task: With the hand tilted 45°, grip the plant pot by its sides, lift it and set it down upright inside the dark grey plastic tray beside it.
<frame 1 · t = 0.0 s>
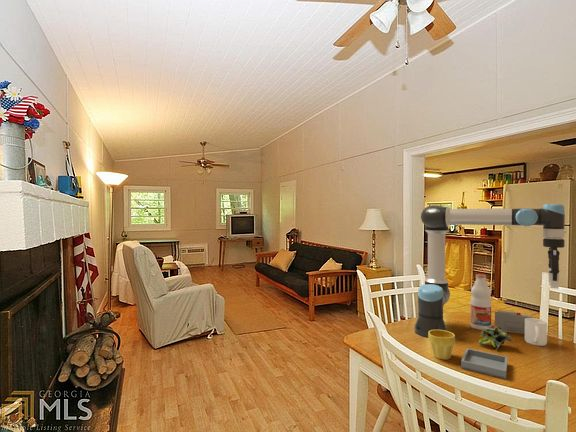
hand: (553, 285, 148), 28 cm above the table, tool pointing down, fingers open, 13 cm apart
fruit juice: (480, 328, 173), on the table
plant pot: (441, 356, 139), on the table
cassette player: (513, 332, 167), on the table
green leafy plant: (495, 347, 148), on the table
tray: (484, 366, 130), on the table
mug: (535, 344, 151), on the table
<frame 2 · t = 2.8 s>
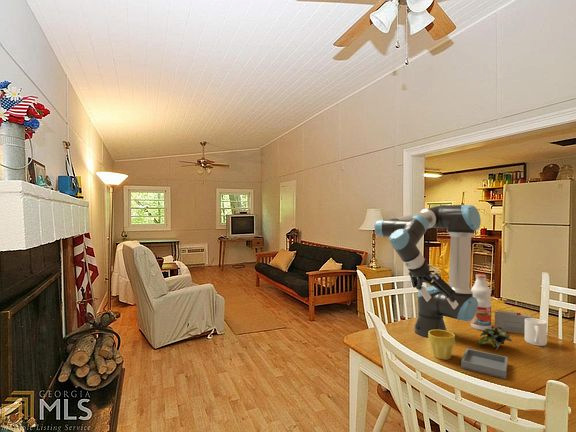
hand: (441, 302, 135), 24 cm above the table, tool tilted 40°, fingers open, 13 cm apart
nothing on the table moved.
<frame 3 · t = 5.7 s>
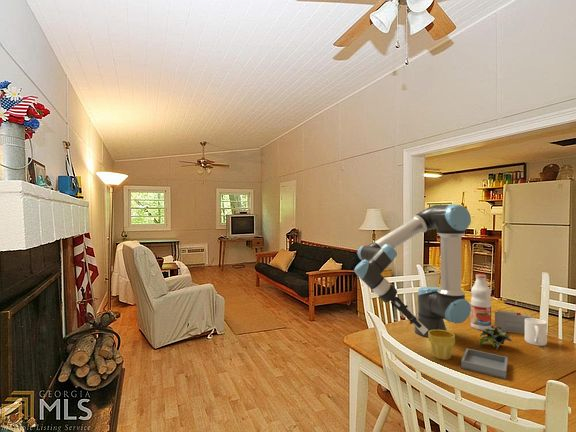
hand: (420, 326, 139), 13 cm above the table, tool tilted 45°, fingers open, 13 cm apart
nothing on the table moved.
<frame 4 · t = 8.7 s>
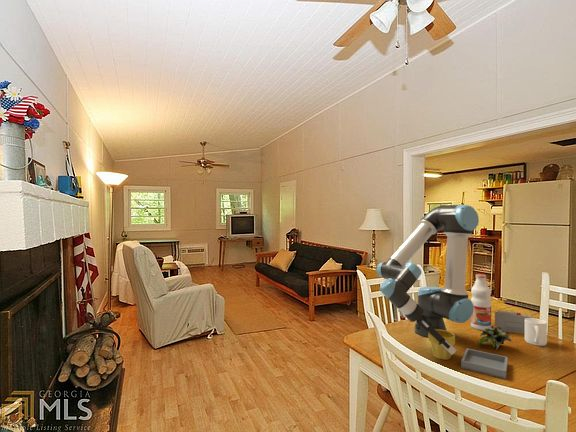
hand: (448, 347, 139), 4 cm above the table, tool tilted 45°, fingers closed on plant pot, 10 cm apart
plant pot: (441, 356, 139), on the table, touching gripper
everything else where it was.
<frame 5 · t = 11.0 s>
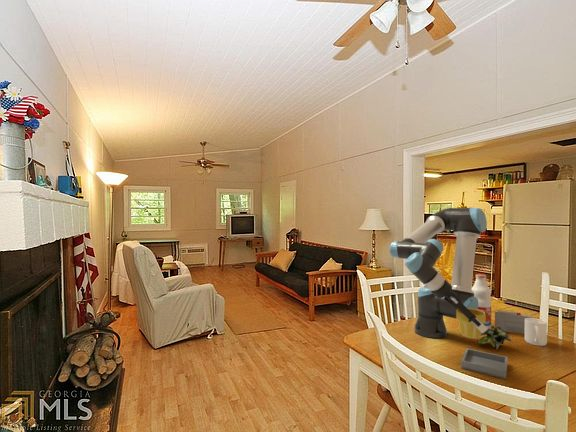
hand: (478, 326, 131), 16 cm above the table, tool tilted 45°, fingers closed on plant pot, 10 cm apart
plant pot: (470, 336, 131), point 11 cm above the table, touching gripper
everything else where it was.
when the fingers open (6 cm above the table, at t = 13.7 s): plant pot drops 1 cm, resting on tray.
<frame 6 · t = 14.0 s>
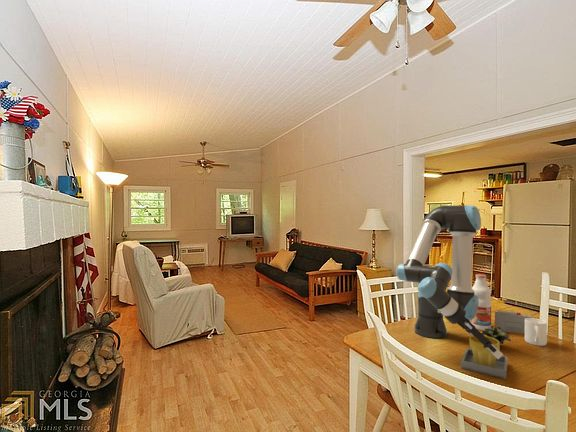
hand: (491, 349, 130), 7 cm above the table, tool tilted 45°, fingers open, 13 cm apart
plant pot: (484, 364, 130), point 1 cm above the table, touching tray
everything else where it was.
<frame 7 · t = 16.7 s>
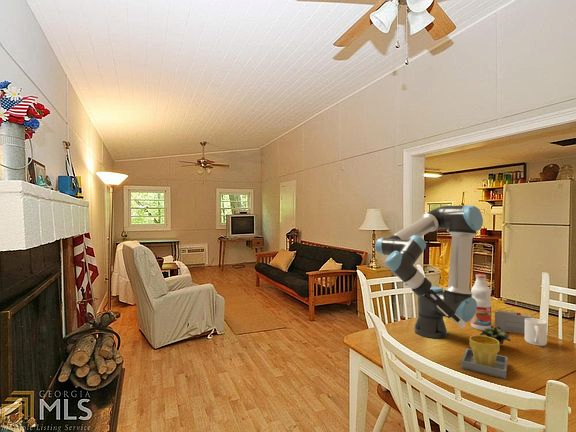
hand: (456, 320, 132), 18 cm above the table, tool tilted 45°, fingers open, 13 cm apart
nothing on the table moved.
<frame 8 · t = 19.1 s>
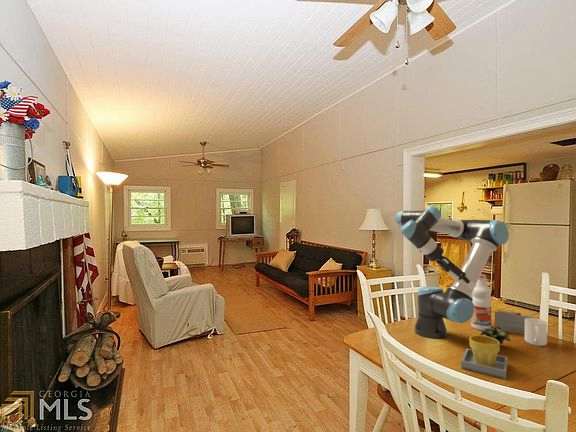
hand: (466, 284, 143), 30 cm above the table, tool tilted 45°, fingers open, 13 cm apart
nothing on the table moved.
at the end: plant pot 0.3 cm off-centre on the tray, point 0.6 cm above the tray's base; plant pot tilted 0°; the gripper is holding nothing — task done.
